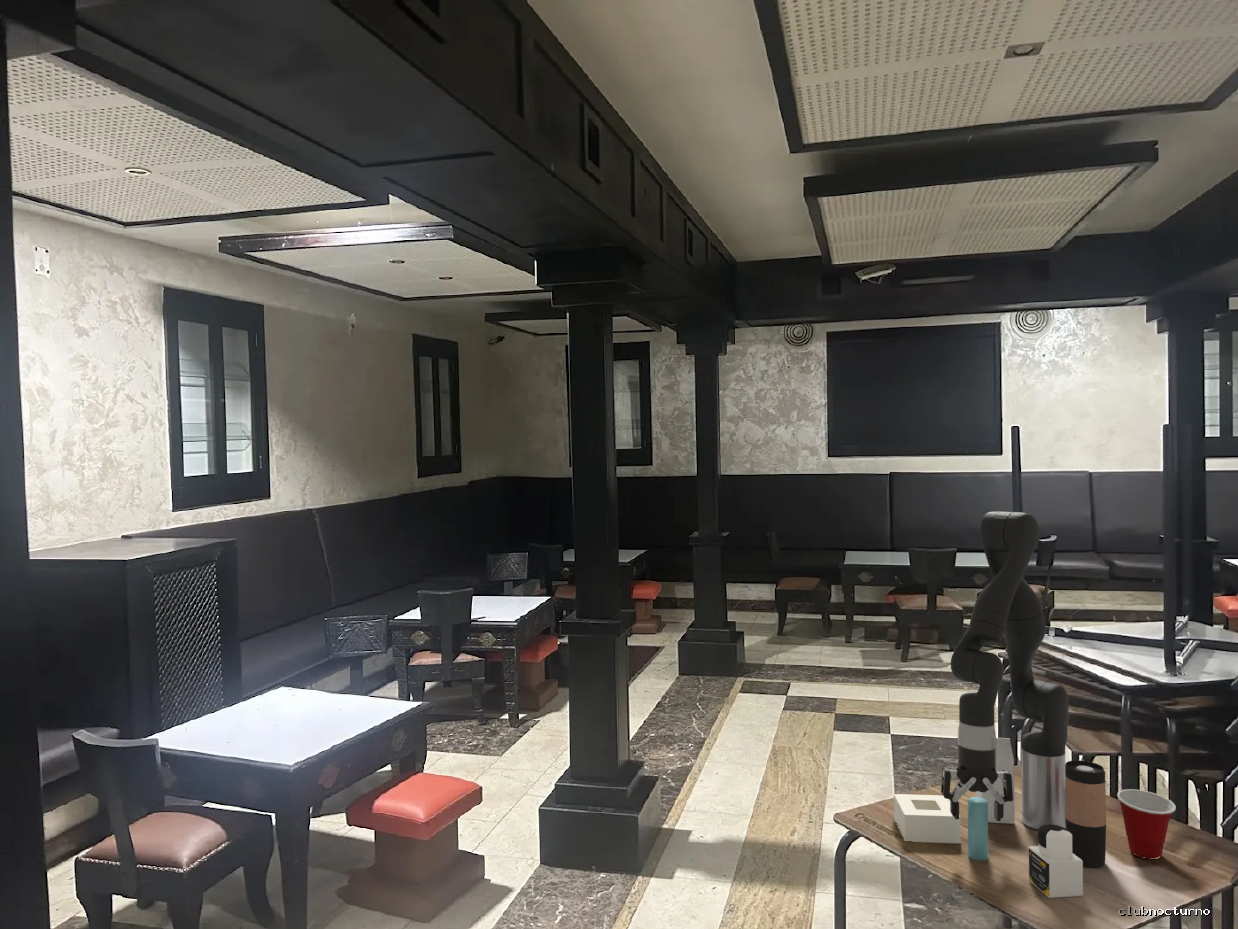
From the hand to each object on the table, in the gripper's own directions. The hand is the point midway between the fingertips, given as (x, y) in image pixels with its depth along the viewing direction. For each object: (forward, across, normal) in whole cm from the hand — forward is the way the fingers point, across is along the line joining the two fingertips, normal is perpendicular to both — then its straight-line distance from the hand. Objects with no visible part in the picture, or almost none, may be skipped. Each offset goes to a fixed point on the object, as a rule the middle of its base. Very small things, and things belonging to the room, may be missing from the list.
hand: (976, 819), depth 184 cm
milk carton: (+8, -10, -21) cm, 25 cm away
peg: (+8, 0, 0) cm, 8 cm away
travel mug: (+8, -22, 0) cm, 24 cm away
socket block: (+8, +8, -12) cm, 17 cm away
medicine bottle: (+8, -11, +13) cm, 19 cm away
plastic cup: (+8, -36, -4) cm, 37 cm away
